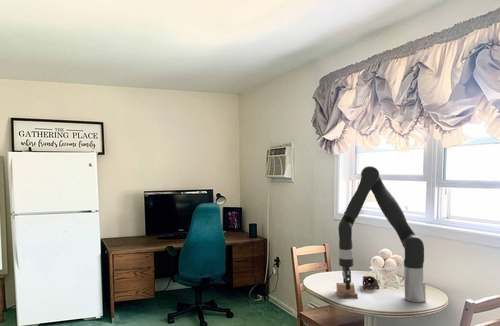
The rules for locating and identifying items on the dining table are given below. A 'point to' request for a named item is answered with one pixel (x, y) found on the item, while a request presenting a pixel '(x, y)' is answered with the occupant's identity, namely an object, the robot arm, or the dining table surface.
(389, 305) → the dining table surface
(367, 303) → the dining table surface
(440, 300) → the dining table surface
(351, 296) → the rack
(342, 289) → the light brown block
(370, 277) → the dark brown rounded lump
